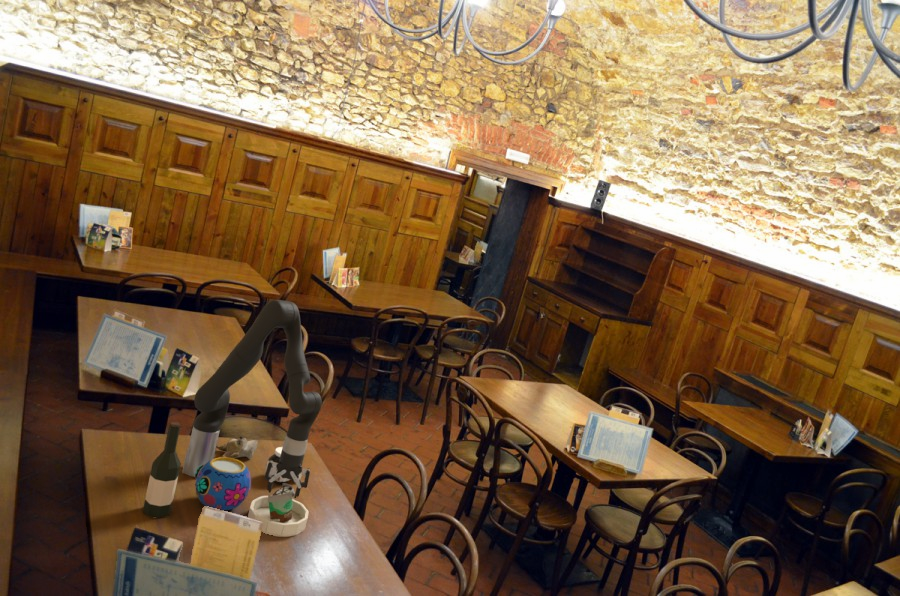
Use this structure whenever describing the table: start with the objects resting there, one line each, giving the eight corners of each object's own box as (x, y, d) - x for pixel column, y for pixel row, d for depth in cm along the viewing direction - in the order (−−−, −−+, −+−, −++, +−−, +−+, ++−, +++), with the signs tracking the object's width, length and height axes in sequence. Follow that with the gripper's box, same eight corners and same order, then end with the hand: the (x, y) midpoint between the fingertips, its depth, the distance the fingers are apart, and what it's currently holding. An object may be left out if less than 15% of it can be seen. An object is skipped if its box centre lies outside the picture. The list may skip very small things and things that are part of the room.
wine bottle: (176, 511, 233) (195, 424, 228) (158, 521, 225) (177, 431, 220) (155, 502, 235) (173, 415, 230) (136, 511, 227) (155, 421, 222)
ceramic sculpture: (262, 442, 280) (223, 443, 272) (259, 462, 282) (219, 464, 274) (255, 430, 289) (216, 431, 281) (251, 451, 291) (213, 452, 283)
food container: (286, 527, 236) (285, 497, 235) (268, 525, 237) (267, 496, 236) (301, 512, 248) (300, 483, 247) (284, 511, 249) (283, 482, 248)
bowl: (243, 530, 232) (246, 517, 232) (253, 502, 251) (255, 491, 250) (302, 541, 235) (305, 529, 234) (307, 513, 254) (310, 501, 253)
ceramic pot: (188, 491, 247) (197, 450, 245) (241, 494, 255) (250, 454, 252) (192, 518, 231) (202, 475, 229) (248, 520, 239) (258, 478, 237)
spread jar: (260, 477, 271) (267, 448, 269) (278, 469, 281) (284, 441, 279) (287, 489, 267) (294, 460, 265) (304, 480, 277) (311, 452, 276)
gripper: (270, 449, 234) (259, 495, 237) (314, 458, 236) (302, 504, 239) (274, 440, 241) (262, 484, 244) (316, 449, 243) (304, 493, 246)
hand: (282, 494), depth 241 cm, fingers open, 8 cm apart
